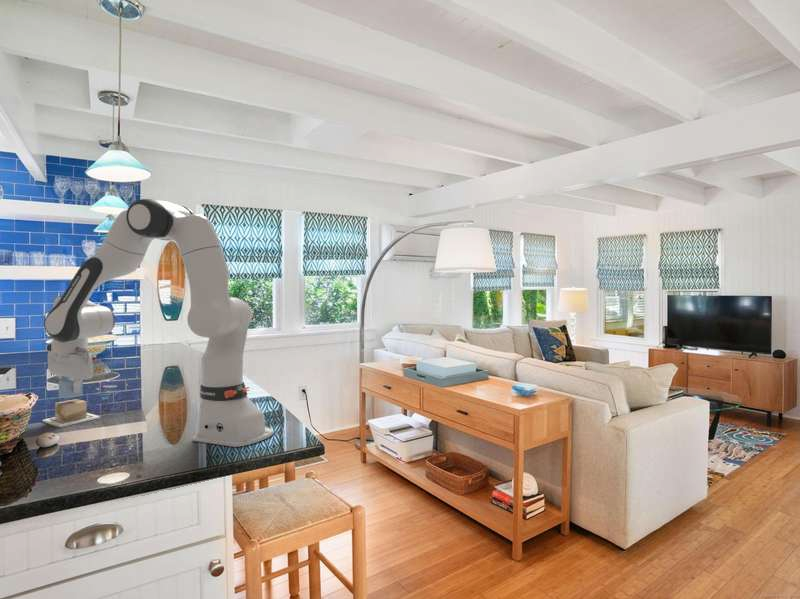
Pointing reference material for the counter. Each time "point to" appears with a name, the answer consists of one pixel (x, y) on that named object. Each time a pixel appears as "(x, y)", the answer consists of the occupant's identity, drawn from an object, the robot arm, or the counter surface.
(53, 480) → the counter surface
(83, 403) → the oak block
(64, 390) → the blue cube
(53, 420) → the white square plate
